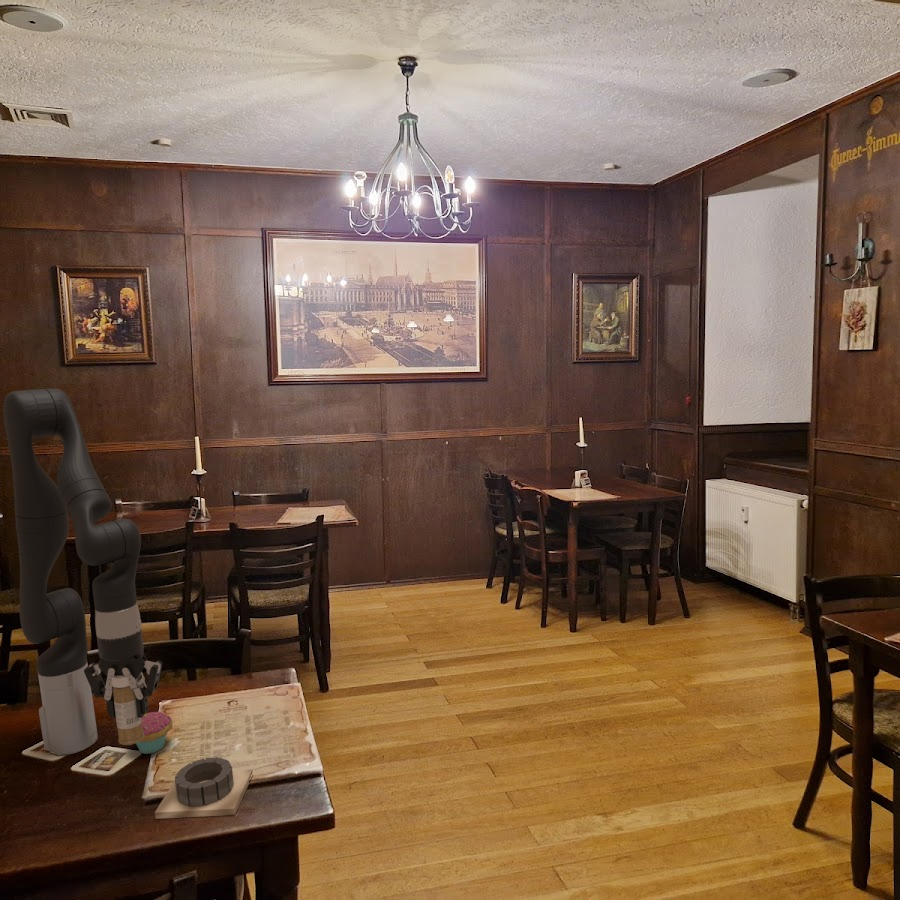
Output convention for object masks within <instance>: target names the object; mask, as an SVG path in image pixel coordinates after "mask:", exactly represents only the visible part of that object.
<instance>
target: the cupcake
mask: <svg viewBox="0 0 900 900" xmlns="http://www.w3.org/2000/svg"><path fill="white" fill-rule="evenodd" d="M142 725H143V732H144V737H143V739H142V740H140V741H139V742H137V743H135V745H136V746H137V748H138V750H139V752H140V753H142V754H144V755H145V754H148V755H150V754H154V753H157V752H159V751H160V750H162V749H163V748H164V747H165V742H166V738H167V735H168V733H169V732H170V730H171V729H172V728H173V725H174V724H173V720H172V718H171V716H170V715H168V714H167V713H163V712H161V711H151V712H146V714H145V715H144V716H143V717H142Z"/></svg>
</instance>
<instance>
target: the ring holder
mask: <svg viewBox="0 0 900 900" xmlns="http://www.w3.org/2000/svg"><path fill="white" fill-rule="evenodd" d="M252 773H254V772H253V769H252V768H250V769H233V766H232V764H231V763H230V761H229V760H228V759H225V758H222V757H217V756H216V757H205V758H202V759H197V760H195V761H192V762H190V763H188V764H186V765H184V766H183V767H181V768H180V770H178V772H177V774H176V775H175V777H174V781H173V783H172V784H171V786H170V788H169V789H168V791H167V792H166V794H165V795H164V797H163V798H162V800H161V802H160V803H159V805H158V807H157V808H156V810H155V811H154V817H155V819H156V820H157V819H158V820H159V819H161V820H162V819H179V818H181V819H182V818H197V817H198V818H201V817H219V816H221V817H222V816H223V817H224V816H235V815H236V813H237V811H238V809H239V807H240V805H241V802H242V800H243V798H244V796H245V793H246V791H247V789H248V787H249V785H250V783H249V780H250V778H251V775H252ZM251 779H252V778H251Z"/></svg>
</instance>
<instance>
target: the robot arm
mask: <svg viewBox="0 0 900 900" xmlns="http://www.w3.org/2000/svg"><path fill="white" fill-rule="evenodd" d="M3 417H4V426H5V432H6V438H7V444H8V449H9V456H10V461H11V468H12V469H11V470H12V481H13V491H14V492H13V493H14V496H13V497H14V515H15V530H16V537H17V546H18V547H17V548H18V556H19V557H18V558H19V620H20V626H21V630H22V632H23V635H24V637H25V639H26V640H27V641H28V642H29V643H30V644H36V645H38V644H43V643H46V642H49V641H52V640H54V642H53V644H51V645H50V647H48V648H47V649H46V650H45V651H44V652H42V653H41V654H40V656H38V658H37V660H36V669H37V675H38V683H39V687H40V688H39V690H40V697H41V703H42V706H41V707H39V709H38V714H39V722H40V729H41V734H42V741H43V747H44V751H45V750H48V751H51V752H53V753H55V754H67V755H72V754H77V753H79V752H81V751H84V750H86V749H87V748H90V747H91V746H92V745H94V744H95V743H97V740H98V739H99V738H98V729H97V722H96V715H95V714H96V713H95V707H94V700H93V696H94V697H95V698H104V700H105V703H106V712H107V715H108V716H109V717H110V719H116V714H115V706H114V695H113V686H112V678H113V677H115V675H116V676H120V675H124V676H125V677H127V678H128V681H129V686H130V688H131V689H132V690H133V691H134V693H135V695H136V697H137V699H136V707H137V715H138V718H142V717H143V716H144V715H145V714H146V713H148V711H149V699H148V697H151V696H152V695H153V694H154V692H155V691H156V690H157V689H158V687H159V681H160V676H161V673H162V666H163V662H162V661H161V660H156V661H151V660H148V659H147V657H146V655H145V654H144V653H145V652H144V641H143V639H144V638H143V632H142V619H141V613H140V610H139V606H138V605H139V604H138V599H137V590H136V574H137V569H138V562H139V558H140V551H141V545H142V537H141V536H142V535H141V532H140V530H139V527H138V525H137V524H136V523H135V522H134V521H132V520H131V519H128V518H119V519H115V520H111V521H107V522H102V523H98V524H95V523H97V522H98V521H100V520H102V519H104V518H105V517H106V516H108V514H110V512H111V510H112V509H113V508H112V506H113V504H112V501H111V498H110V496H109V495H108V493H107V491H106V489H105V487H104V485H103V483H102V482H101V480H100V478H99V475H98V474H97V472H96V470H95V467H94V466H93V463H92V460H91V457H90V455H89V451H88V448H87V445H86V441H85V438H84V435H83V432H82V428H81V426H80V423H79V419H78V418H77V415H76V412H75V409H74V406H73V404H72V402H71V400H70V398H69V396H68V395H67V393H65V392H64V391H63V390H62V389H59V388H40V389H24V390H16V391H15V390H14V391H10V392H8V393H7V394H6V396H5V398H4V403H3ZM54 436H58V437H59V438H60V440H61V442H62V444H63V451H62V452H63V453H62V457H61V459H60V463H59V466H58V470H57V474H56V475H57V476H56V483H55V482H54V480H53V479H52V478H51V477H50V476H49V475H48V473H47V472H46V471H45V470H44V468H43V467H42V466H41V464H40V463H39V461H38V460H37V456H36V454H35V451H34V445H33V439H39V438H40V439H41V438H47V437H54ZM69 514H70V517H69ZM70 518H71V522H72V527H73V530H74V531H73V533H74V539H75V548H76V549H75V550H76V553H77V556H78V558H79V559H80V560H81V562H83V563H85V564H86V565H89V566H91V567H92V566H93V567H95V566H99V565H104V564H106V563H111V562H113V564H112V566H111V568H109V569H108V570H106V571H104V572H103V573H101V574H99V575H98V576H96V577H95V578H94V579H93V581H92V587H91V588H92V596H93V605H94V625H95V626H94V627H95V634H96V643H97V652H98V657H99V661H98V662H94V661H93V662H90V664H89V665H88V658H87V655H88V637H87V636H88V635H87V624H86V613H85V608H84V603H83V600H82V598H81V596H80V594H79V593H78V592H77V591H76V590H75V589H73V588H70V587H65V588H62V589H58V590H55V591H54V590H53V591H51V592H48V593H47V590H48V588H47V587H48V581H49V576H50V574H51V572H52V569H53V566H54V565H55V563H56V562H57V559H58V558H59V555H60V554H61V552H62V550H63V549H64V546H65V544H66V542H67V540H68V536H69V532H70V522H69V521H70V520H69V519H70ZM144 669H146V674H147V675H148V680H147V684H146V682H145V680H146V678H145V676H144V674H143V672H142V671H143V670H144ZM101 672H102V673H103V674H104V675H105V677H106V681H104V678H103V677H102V674H101ZM137 678H138V680H137V682H136V679H137ZM51 752H50V753H51ZM55 754H54V755H55Z"/></svg>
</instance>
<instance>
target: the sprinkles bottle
mask: <svg viewBox="0 0 900 900" xmlns="http://www.w3.org/2000/svg"><path fill="white" fill-rule="evenodd" d="M137 680H138V678H137V679H136V682H137ZM112 686H113V695H114V706H115V714H116V718H115V721H116V727H117V736H118V739H117V741H118V743H119V744H120V745H121V746H122V745H123V746H130V745H134V744H135V745H136V743H137V742H139V741H140V740H142V739H143V737H144V732H143V725H142V718H138V715H137V707H136V699H137V697H136V695H135V693H134V691H133V690H132V689H131V688H130V686H129V681H128V678H127V677H125V676H124V675H120V676H116V675H115V677H113V678H112Z"/></svg>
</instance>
